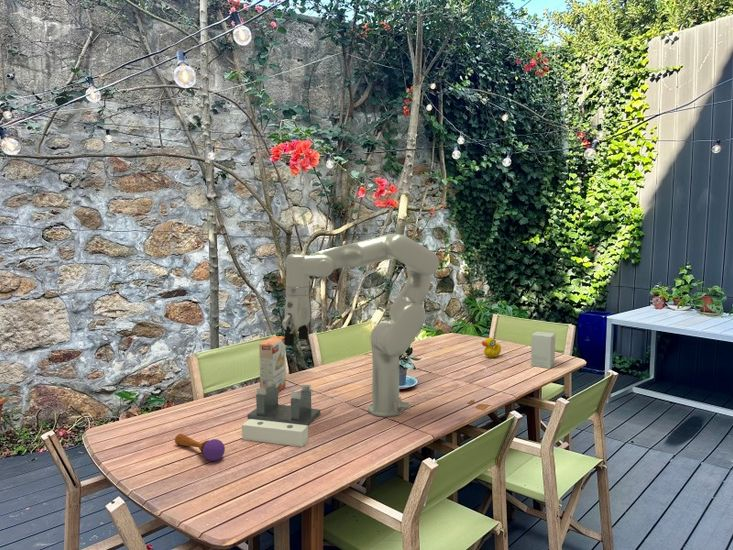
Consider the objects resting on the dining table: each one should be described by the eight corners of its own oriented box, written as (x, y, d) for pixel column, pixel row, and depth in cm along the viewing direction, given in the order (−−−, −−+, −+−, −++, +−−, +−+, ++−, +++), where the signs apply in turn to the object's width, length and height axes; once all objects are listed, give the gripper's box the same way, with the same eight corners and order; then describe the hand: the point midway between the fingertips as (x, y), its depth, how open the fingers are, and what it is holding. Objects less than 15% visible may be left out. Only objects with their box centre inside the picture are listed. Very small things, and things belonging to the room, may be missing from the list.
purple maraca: (189, 427, 162) (229, 439, 150) (187, 447, 161) (228, 460, 149) (171, 430, 157) (212, 442, 145) (170, 450, 157) (210, 464, 145)
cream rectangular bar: (308, 440, 162) (308, 424, 161) (302, 447, 157) (301, 431, 157) (250, 433, 167) (249, 418, 167) (242, 440, 162) (241, 424, 162)
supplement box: (554, 364, 245) (556, 333, 243) (550, 368, 237) (551, 336, 235) (535, 361, 250) (536, 330, 248) (530, 365, 242) (531, 334, 240)
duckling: (485, 360, 251) (486, 340, 250) (478, 357, 256) (478, 337, 255) (503, 357, 257) (504, 337, 255) (495, 354, 261) (496, 335, 260)
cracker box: (274, 397, 199) (273, 344, 197) (259, 396, 201) (258, 343, 198) (286, 386, 213) (286, 336, 211) (273, 385, 214) (272, 335, 212)
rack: (320, 413, 183) (320, 384, 182) (306, 426, 172) (305, 396, 171) (264, 406, 190) (264, 378, 189) (247, 418, 179) (246, 389, 178)
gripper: (295, 295, 163) (293, 349, 164) (319, 289, 179) (317, 338, 180) (273, 293, 165) (272, 346, 167) (299, 287, 181) (298, 335, 183)
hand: (296, 342), depth 174 cm, fingers open, 9 cm apart
